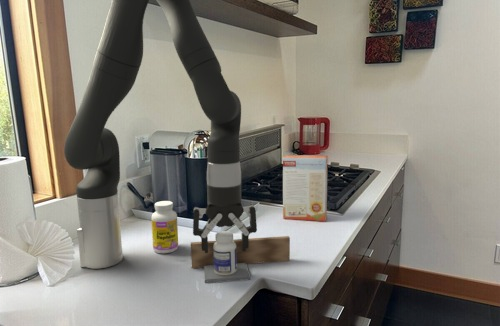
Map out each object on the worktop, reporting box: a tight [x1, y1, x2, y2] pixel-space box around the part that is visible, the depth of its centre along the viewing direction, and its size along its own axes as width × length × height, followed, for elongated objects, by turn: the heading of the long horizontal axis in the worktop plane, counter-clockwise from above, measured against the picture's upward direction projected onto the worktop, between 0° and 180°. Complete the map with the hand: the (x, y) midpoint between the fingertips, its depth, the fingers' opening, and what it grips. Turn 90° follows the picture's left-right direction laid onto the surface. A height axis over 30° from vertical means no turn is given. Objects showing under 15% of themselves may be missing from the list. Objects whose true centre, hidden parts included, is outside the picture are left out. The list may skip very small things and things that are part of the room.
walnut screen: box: [190, 235, 291, 269], centre depth 91 cm, size 24×1×6 cm, turn 98°
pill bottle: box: [213, 230, 237, 275], centre depth 86 cm, size 5×5×9 cm
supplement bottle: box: [151, 200, 179, 254], centre depth 100 cm, size 7×7×13 cm
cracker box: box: [282, 154, 328, 222], centre depth 124 cm, size 14×6×21 cm, turn 74°
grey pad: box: [203, 263, 251, 284], centre depth 87 cm, size 10×7×1 cm
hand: (225, 250), depth 86 cm, fingers open, 8 cm apart
